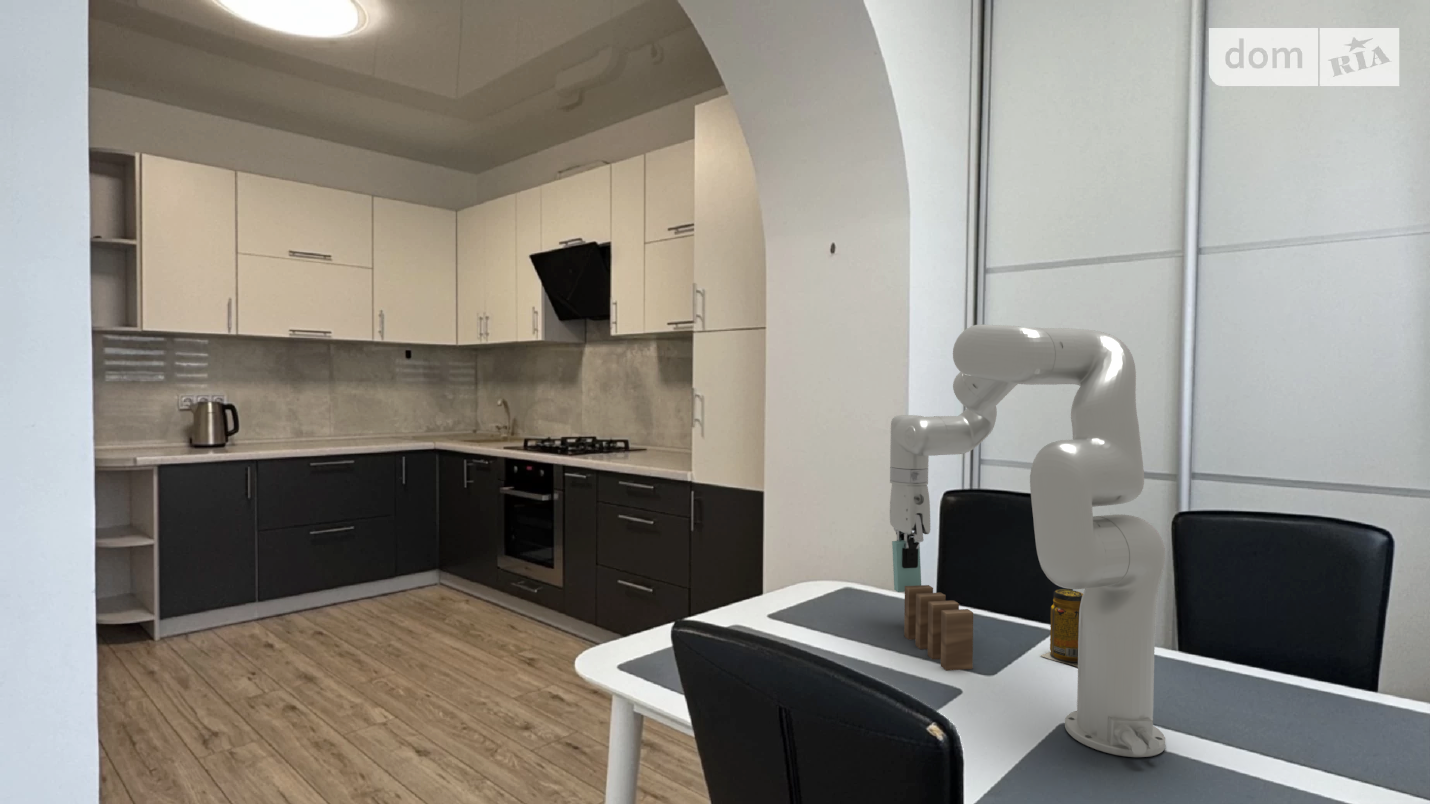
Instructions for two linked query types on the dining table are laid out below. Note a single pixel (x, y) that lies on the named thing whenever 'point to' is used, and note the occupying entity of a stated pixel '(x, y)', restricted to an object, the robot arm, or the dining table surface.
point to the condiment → (1065, 627)
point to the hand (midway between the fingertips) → (907, 565)
